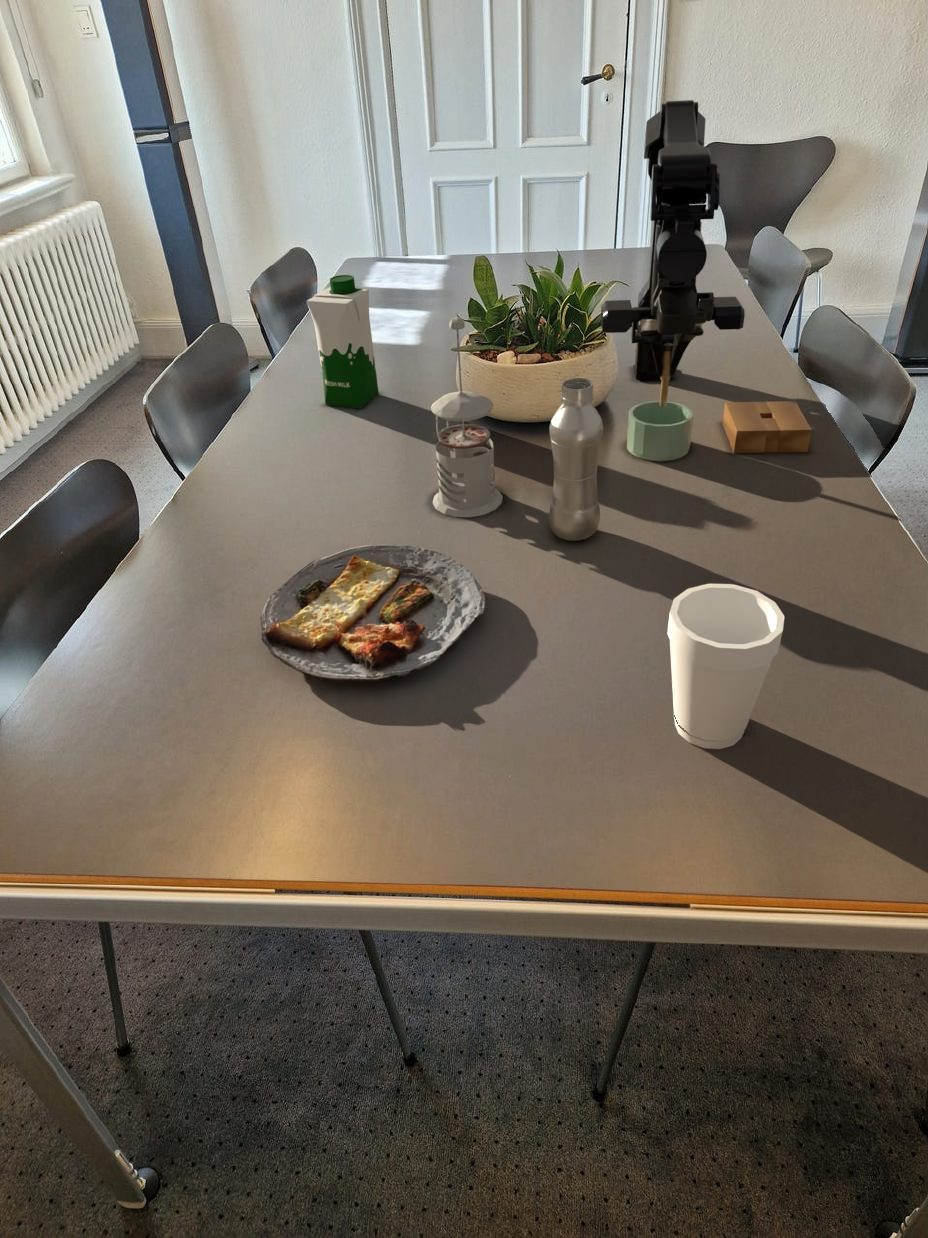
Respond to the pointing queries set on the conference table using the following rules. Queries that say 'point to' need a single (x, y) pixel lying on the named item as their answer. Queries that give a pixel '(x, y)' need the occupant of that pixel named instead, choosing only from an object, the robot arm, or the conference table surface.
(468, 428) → the french press
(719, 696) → the foam cup
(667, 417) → the cup
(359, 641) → the food plate
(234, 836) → the conference table surface
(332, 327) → the milk carton
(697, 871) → the conference table surface
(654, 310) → the robot arm
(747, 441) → the stand
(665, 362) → the tan brown rod
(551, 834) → the conference table surface
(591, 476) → the silver metal bottle
